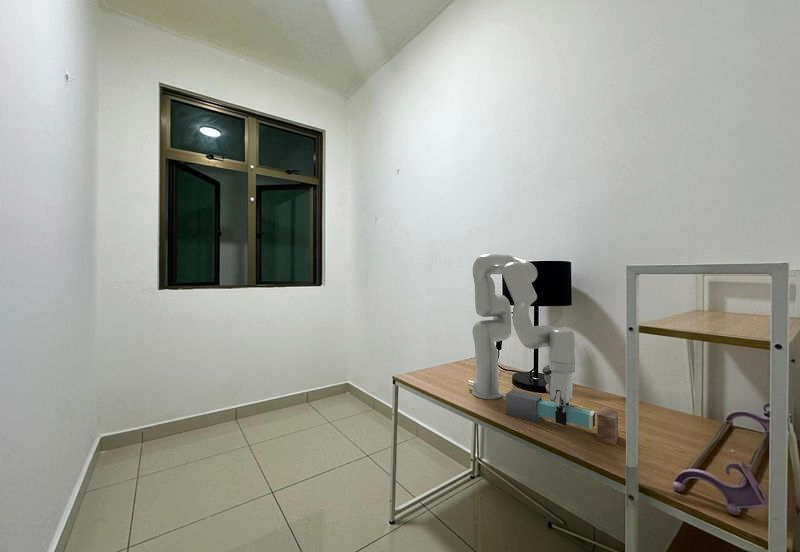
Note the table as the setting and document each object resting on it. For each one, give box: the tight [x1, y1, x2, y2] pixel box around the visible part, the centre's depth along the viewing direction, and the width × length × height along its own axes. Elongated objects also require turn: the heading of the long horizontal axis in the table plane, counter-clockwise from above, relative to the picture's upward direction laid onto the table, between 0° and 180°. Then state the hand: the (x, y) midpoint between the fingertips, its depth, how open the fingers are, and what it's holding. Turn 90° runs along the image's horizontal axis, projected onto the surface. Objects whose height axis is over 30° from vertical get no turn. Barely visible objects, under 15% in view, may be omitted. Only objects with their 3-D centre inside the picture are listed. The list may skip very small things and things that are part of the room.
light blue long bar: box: [537, 399, 596, 430], centre depth 109 cm, size 24×4×4 cm, turn 50°
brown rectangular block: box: [596, 407, 619, 446], centre depth 99 cm, size 4×7×8 cm, turn 140°
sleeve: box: [505, 389, 543, 424], centre depth 115 cm, size 11×6×8 cm, turn 50°
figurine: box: [541, 364, 573, 403], centre depth 126 cm, size 9×10×15 cm
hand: (562, 420), depth 107 cm, fingers closed on light blue long bar, 4 cm apart
